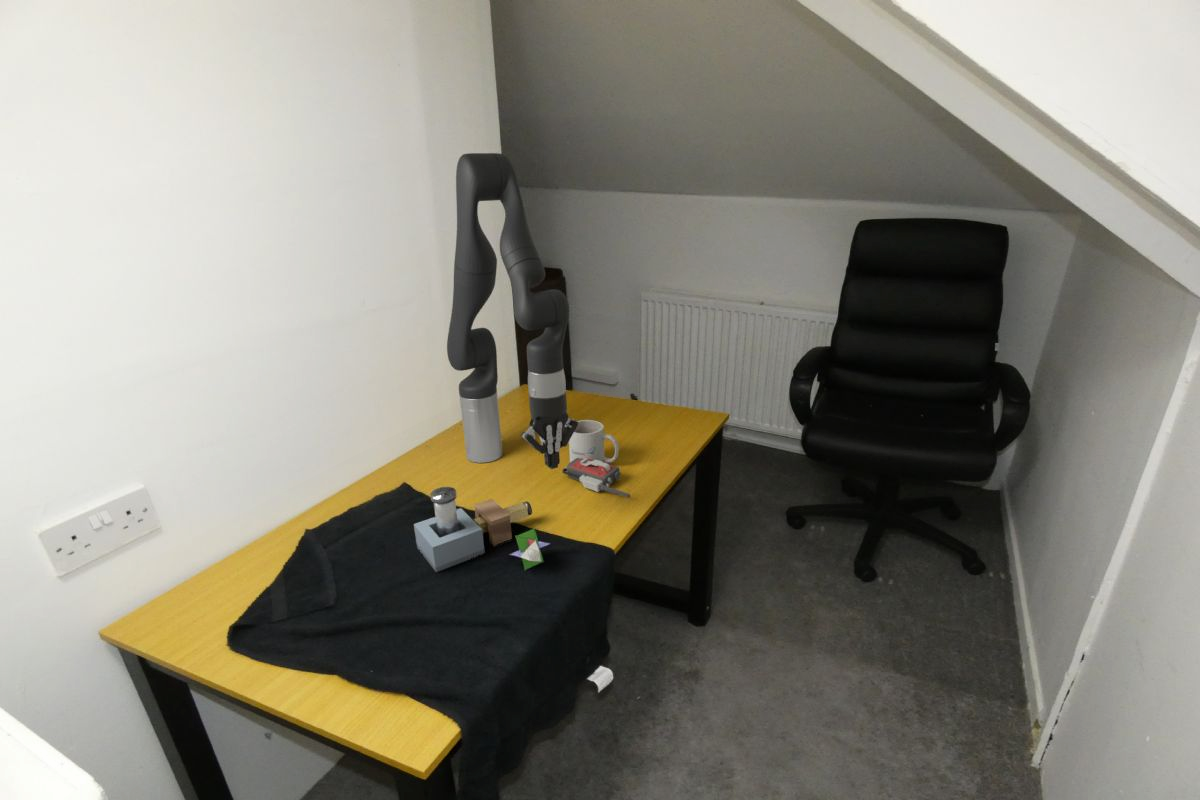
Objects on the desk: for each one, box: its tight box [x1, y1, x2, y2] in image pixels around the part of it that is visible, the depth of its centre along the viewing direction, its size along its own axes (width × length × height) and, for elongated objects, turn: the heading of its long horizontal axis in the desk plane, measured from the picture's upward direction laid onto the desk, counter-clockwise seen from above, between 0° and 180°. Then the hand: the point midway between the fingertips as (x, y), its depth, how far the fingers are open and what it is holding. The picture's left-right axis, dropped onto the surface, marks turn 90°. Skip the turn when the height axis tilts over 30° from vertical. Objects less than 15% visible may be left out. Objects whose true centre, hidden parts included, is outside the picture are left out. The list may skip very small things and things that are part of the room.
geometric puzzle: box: [509, 527, 551, 571], centre depth 124 cm, size 7×7×8 cm
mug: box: [568, 419, 620, 464], centre depth 160 cm, size 12×9×10 cm
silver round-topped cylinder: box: [430, 486, 459, 538], centre depth 127 cm, size 5×5×12 cm
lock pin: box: [473, 500, 533, 534], centre depth 135 cm, size 3×12×3 cm, turn 125°
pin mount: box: [473, 498, 513, 547], centre depth 134 cm, size 8×4×6 cm, turn 35°
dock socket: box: [413, 507, 486, 573], centre depth 129 cm, size 10×10×6 cm
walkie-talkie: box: [561, 458, 631, 498], centre depth 152 cm, size 9×4×20 cm
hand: (552, 467), depth 138 cm, fingers closed
